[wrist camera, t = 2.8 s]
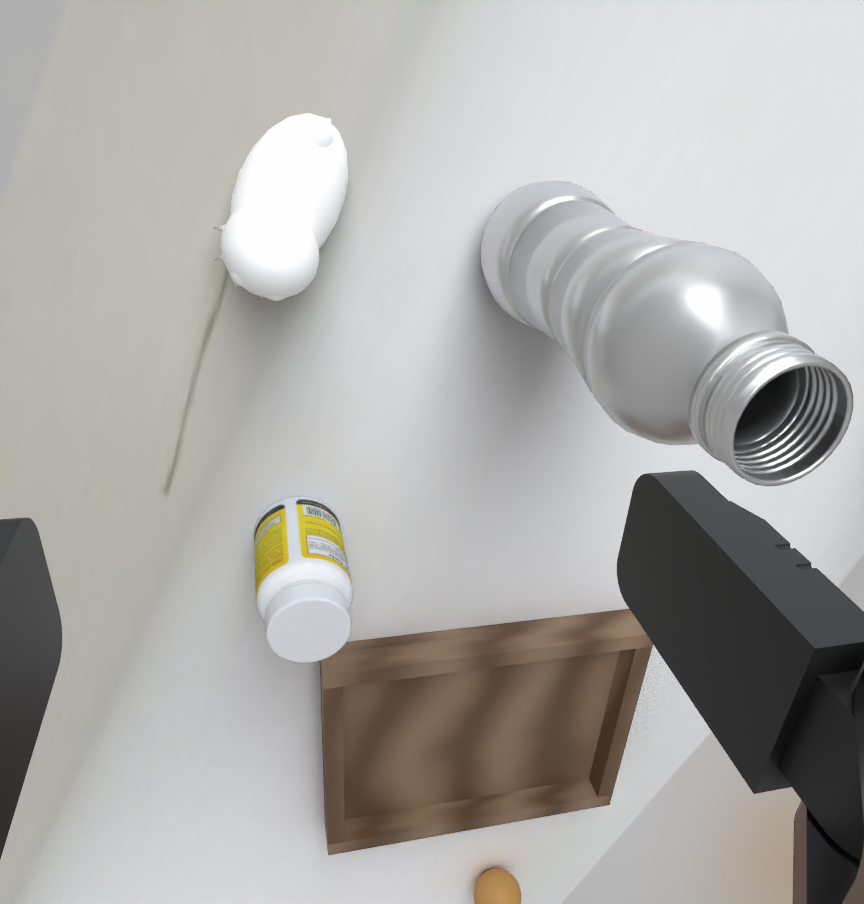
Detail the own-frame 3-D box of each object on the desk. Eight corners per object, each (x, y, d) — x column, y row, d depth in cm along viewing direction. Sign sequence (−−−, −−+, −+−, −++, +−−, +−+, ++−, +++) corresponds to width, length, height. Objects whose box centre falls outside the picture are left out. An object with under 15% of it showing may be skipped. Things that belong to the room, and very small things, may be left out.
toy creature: (198, 254, 32) (188, 296, 27) (270, 80, 30) (275, 88, 24) (292, 297, 34) (300, 345, 29) (369, 137, 32) (393, 157, 26)
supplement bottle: (262, 569, 42) (265, 678, 34) (246, 502, 39) (246, 604, 32) (345, 553, 42) (364, 657, 35) (334, 486, 40) (353, 583, 33)
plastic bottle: (498, 330, 37) (705, 570, 20) (447, 210, 34) (647, 379, 17) (609, 272, 37) (911, 467, 20) (570, 145, 34) (898, 252, 17)
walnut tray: (638, 607, 50) (656, 633, 48) (596, 777, 59) (609, 804, 57) (319, 645, 45) (322, 674, 43) (325, 823, 54) (328, 855, 52)
